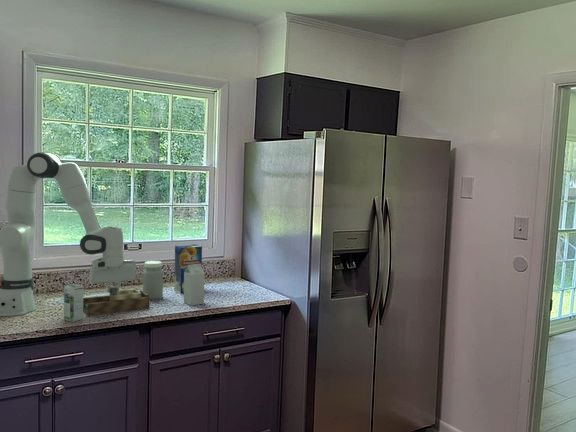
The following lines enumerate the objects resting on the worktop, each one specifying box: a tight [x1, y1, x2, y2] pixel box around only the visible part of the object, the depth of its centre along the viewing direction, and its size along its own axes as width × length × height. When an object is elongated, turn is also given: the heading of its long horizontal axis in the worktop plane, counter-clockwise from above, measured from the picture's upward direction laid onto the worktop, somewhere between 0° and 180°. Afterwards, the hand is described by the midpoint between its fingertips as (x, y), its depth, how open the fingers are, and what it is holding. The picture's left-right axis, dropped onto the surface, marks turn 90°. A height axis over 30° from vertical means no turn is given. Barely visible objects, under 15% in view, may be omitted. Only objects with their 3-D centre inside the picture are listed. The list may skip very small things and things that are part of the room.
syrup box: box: [63, 283, 84, 323], centre depth 219 cm, size 6×6×14 cm
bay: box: [83, 289, 150, 317], centre depth 238 cm, size 27×12×6 cm, turn 124°
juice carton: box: [174, 244, 203, 295], centre depth 274 cm, size 12×8×24 cm, turn 128°
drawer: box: [108, 284, 141, 301], centre depth 240 cm, size 13×9×9 cm
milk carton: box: [183, 264, 205, 306], centre depth 251 cm, size 7×7×19 cm
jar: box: [142, 260, 164, 301], centre depth 258 cm, size 10×10×18 cm
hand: (112, 291), depth 237 cm, fingers closed on drawer, 2 cm apart
